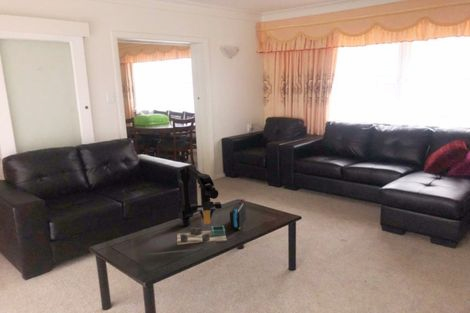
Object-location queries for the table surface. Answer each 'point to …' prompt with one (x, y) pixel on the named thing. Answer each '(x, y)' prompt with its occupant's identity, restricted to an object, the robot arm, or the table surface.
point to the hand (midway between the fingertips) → (206, 219)
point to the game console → (238, 215)
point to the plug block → (206, 216)
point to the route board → (199, 238)
